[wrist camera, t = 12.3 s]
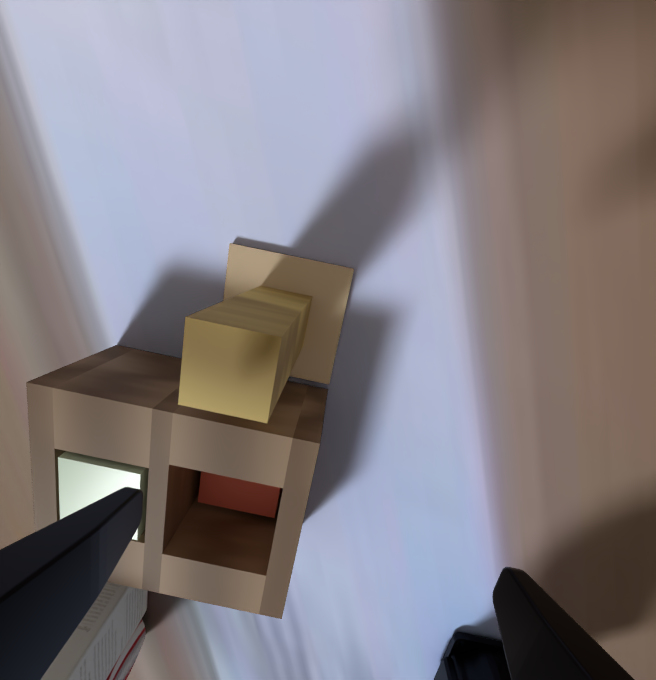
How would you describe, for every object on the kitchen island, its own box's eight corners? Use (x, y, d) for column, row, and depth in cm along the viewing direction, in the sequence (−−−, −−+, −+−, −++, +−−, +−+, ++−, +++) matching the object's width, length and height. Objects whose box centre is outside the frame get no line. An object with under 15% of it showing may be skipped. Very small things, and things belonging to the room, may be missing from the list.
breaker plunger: (293, 430, 21) (287, 451, 19) (281, 492, 22) (274, 518, 20) (219, 415, 21) (205, 434, 19) (212, 478, 22) (197, 502, 20)
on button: (172, 439, 19) (140, 474, 16) (168, 497, 20) (137, 540, 17) (103, 424, 19) (58, 457, 16) (102, 483, 20) (60, 523, 17)
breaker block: (327, 389, 21) (319, 443, 15) (297, 528, 24) (281, 618, 18) (116, 344, 21) (26, 382, 15) (113, 489, 24) (37, 567, 18)
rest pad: (353, 268, 19) (354, 269, 18) (329, 381, 20) (329, 384, 20) (232, 243, 19) (229, 243, 18) (218, 358, 20) (216, 360, 20)
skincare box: (96, 540, 25) (-120, 790, 13) (151, 552, 25) (-18, 812, 13) (96, 599, 27) (-96, 867, 15) (148, 610, 27) (-5, 886, 15)
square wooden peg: (303, 346, 20) (267, 423, 11) (253, 335, 20) (177, 404, 11) (312, 296, 19) (281, 337, 10) (260, 285, 19) (185, 317, 10)
